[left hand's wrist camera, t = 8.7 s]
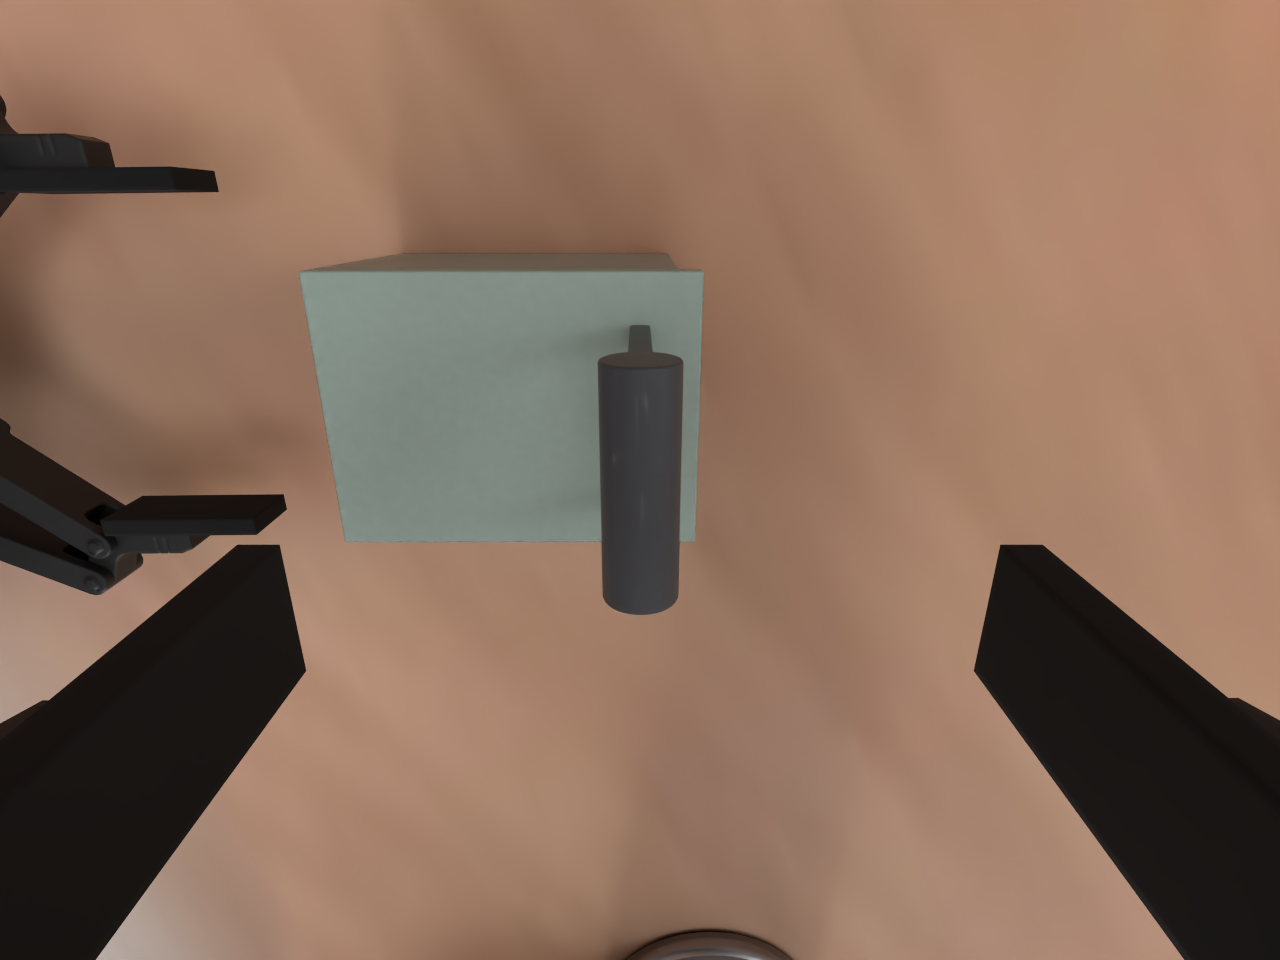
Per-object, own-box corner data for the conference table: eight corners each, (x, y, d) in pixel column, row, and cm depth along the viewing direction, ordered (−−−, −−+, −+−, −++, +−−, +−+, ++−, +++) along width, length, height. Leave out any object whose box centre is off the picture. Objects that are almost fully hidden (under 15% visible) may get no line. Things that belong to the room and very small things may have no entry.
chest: (668, 253, 33) (679, 268, 24) (665, 452, 36) (674, 531, 27) (400, 253, 33) (311, 268, 24) (424, 452, 36) (354, 531, 27)
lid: (701, 268, 24) (734, 297, 16) (693, 532, 27) (716, 665, 19) (310, 268, 24) (140, 298, 16) (353, 532, 27) (234, 666, 19)
